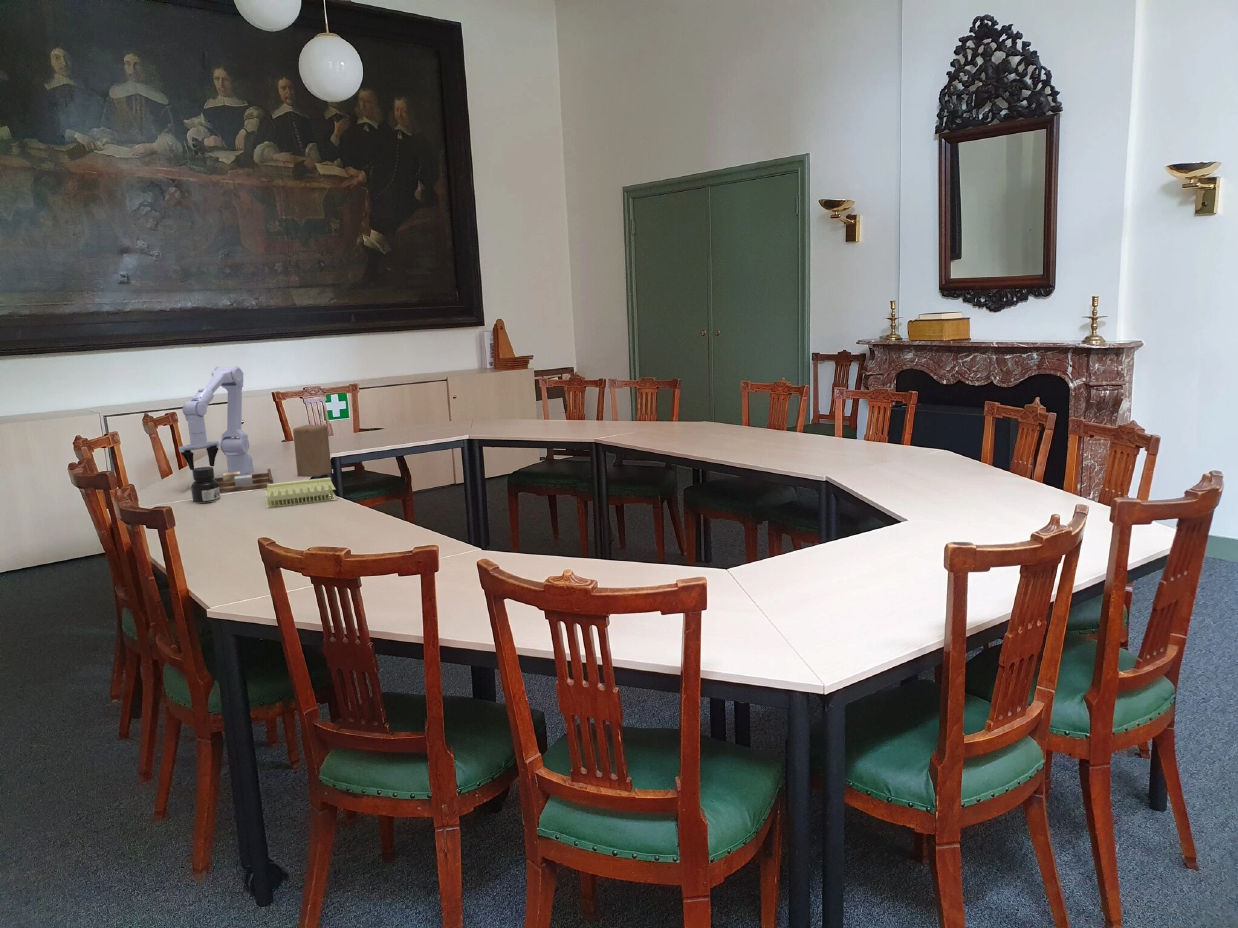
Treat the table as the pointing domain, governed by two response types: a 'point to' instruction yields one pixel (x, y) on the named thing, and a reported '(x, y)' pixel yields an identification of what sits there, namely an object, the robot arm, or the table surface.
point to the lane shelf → (258, 483)
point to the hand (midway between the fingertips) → (202, 467)
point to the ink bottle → (204, 485)
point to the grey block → (243, 480)
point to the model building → (299, 492)
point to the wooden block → (312, 450)
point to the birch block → (230, 476)
